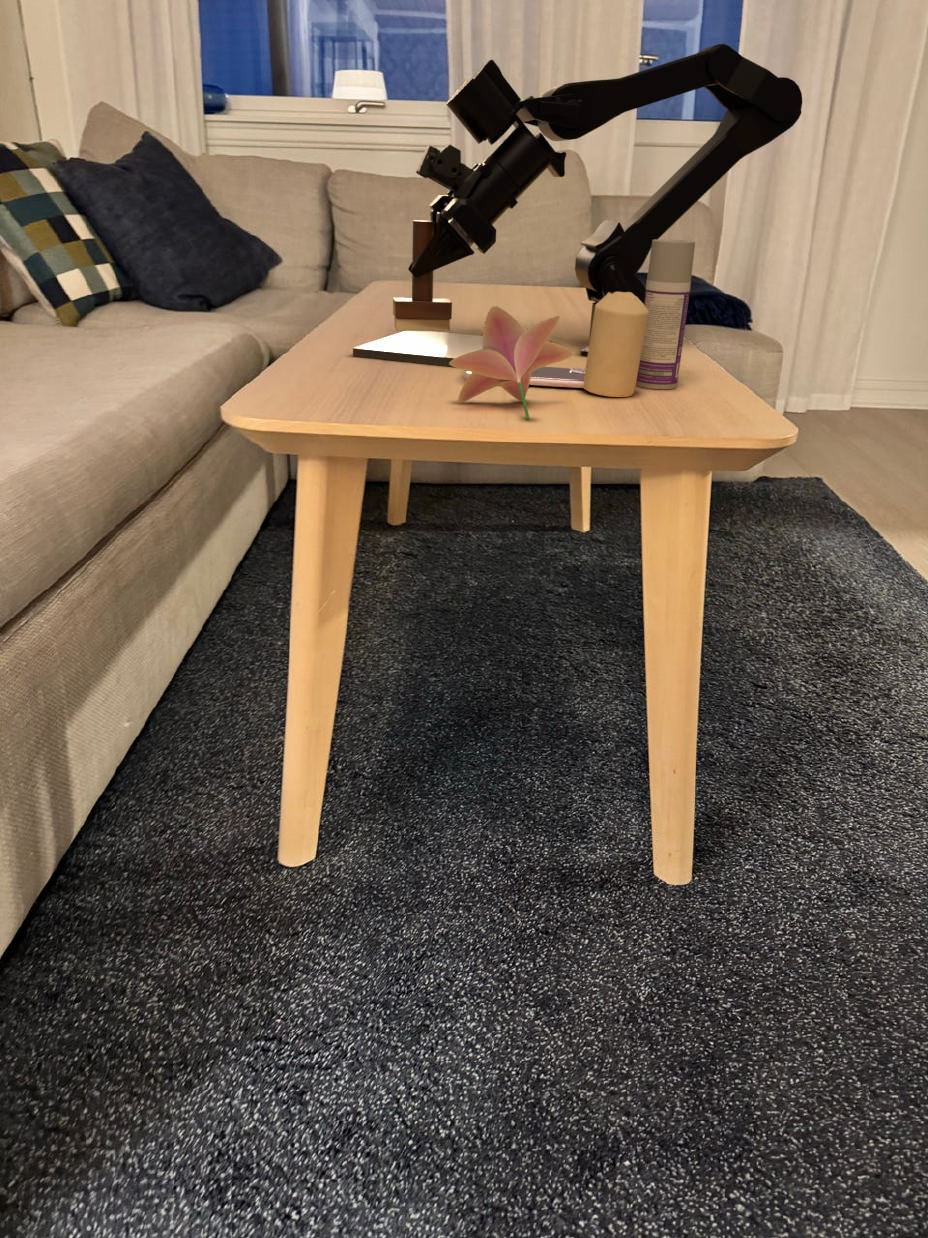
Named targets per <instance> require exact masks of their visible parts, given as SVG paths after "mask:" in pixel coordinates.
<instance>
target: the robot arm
mask: <svg viewBox="0 0 928 1238" xmlns="http://www.w3.org/2000/svg"><path fill="white" fill-rule="evenodd" d="M702 88H705V90H707V91H708V92H709V93H710V94H711V95H712V96H713V98H714V99H715V100H716V101H717V102H718V103H719V104H720V105H721V106H722V107H723V108H724V109H725V110H726V111H725V112H724V114H723V117H722V119H721V120H720V122H719V125H718V126H717V128H716V131H715V132H714V134H713V135H712V136H711V137H710V138H709V139H708V140H707V141H706V142H705V143H704V144H702V146H701V147H700V148H699V149H698V150H697V151H696V152H695V153H694V154H693V155H692V156H691V157H690V158H689V159H688V160H687V161H685V163H684V164H683V165H682V166H680V168H679V169H677V171H676V172H675V173H673V175H672V176H671V177H670V178H669V179H668V180H666V181H665V182H664V183H663V184H662V185H661V186H660V188H658V189H657V190H656V191H655V192H654V193H653V195H651V196H650V197H649V198H648V199H647V201H645V202H644V203H643V204H642V205H641V206H640V207H639V208H638V209H637V210H635V212H634V213H633V214H632V215H631V216H630V217H629V218H628V219H626V220H624V221H623V222H618V221H612V220H603V221H602V223H601V224H599V226H598V227H597V229H596V230H595V231H594V233H593V234H592V235H591V236H590V237H589V238H587V239H584V240H582V241H580V245H581V246H583V247H582V248H581V250H580V251H579V252H578V253H577V255H576V258H575V264H574V272H575V276H576V278H577V280H578V282H579V283H580V285H582V286H583V287H584V288H585V292H586V296H587V299H588V301H591V302H592V303H591V312H590V323H589V335H588V345H587V346H585V347H584V348H583V349H581V350H580V355H583V356H588V350H589V343H590V337H591V330H592V323H593V317H594V310H595V305H596V304H597V303H598V302H599V301H600V300H601V299H602V298H604V297H605V296H606V295H607V294H608V292H610V293H611V294H613V293H614V292H631V293H632V294H634V295H635V296H636V297H638V298H639V300H640V301H641V302H642V303H643V304H644V299H645V290H646V286H645V285H644V284H643V283H642V282H641V280H640V279H639V278H638V277H637V274H638V272H639V271H640V270H641V268H642V267H643V266H644V263H645V261H646V259H647V257H648V255H649V254H650V252H651V247H652V240H656V239H661V238H662V237H663V235H664V234H666V232H667V231H669V230H670V228H671V227H672V226H674V225H675V224H676V223H677V222H678V220H679V219H681V217H683V216H684V215H685V214H686V213H687V212H688V211H689V210H690V209H691V208H692V207H693V206H694V205H695V204H696V203H697V202H698V201H699V200H700V199H701V198H702V197H703V196H705V195H706V193H708V191H709V190H710V189H712V188H713V186H714V185H716V184H717V183H718V182H719V181H720V180H721V179H722V178H723V177H724V176H726V174H727V173H728V172H729V171H730V170H731V169H732V168H733V167H735V165H736V164H737V163H738V162H739V161H741V160H742V159H743V158H744V157H746V156H748V155H750V154H752V153H754V152H755V151H757V150H759V149H761V148H763V147H765V146H767V145H768V144H770V143H772V142H773V141H774V140H775V139H777V138H778V137H780V136H781V135H782V134H784V133H785V132H787V131H788V130H790V129H791V128H792V127H793V126H794V125H796V123H797V122H798V120H799V119H800V117H801V115H802V107H803V93H802V90H801V88H800V86H799V84H797V83H796V81H795V80H793V79H791V78H790V77H780V76H779V77H778V76H777V75H775V74H774V73H773V72H772V71H771V70H769V69H767V68H765V67H764V66H762V65H760V64H758V63H756V62H755V61H752V60H750V59H748V58H746V57H744V56H743V55H741V54H740V53H739V52H738V51H736V50H735V49H734V48H733V47H731V46H730V45H728V44H726V43H717V44H714V45H711V46H707V47H704V48H702V49H701V50H700V51H698V52H696V53H694V54H690V55H688V56H687V55H686V56H684V57H680V58H678V59H674V60H672V61H668V62H664V63H662V64H659V65H655V66H652V67H650V68H646V69H642V70H639V71H637V72H634V73H631V74H628V75H624V76H621V77H617V78H608V79H594V80H585V81H576V82H568V83H564V84H561V85H557V86H555V87H551V88H550V89H548V90H547V91H545V92H544V93H543V94H542V95H541V96H540V97H534V96H533V95H530V96H527V97H523V98H522V99H521V97H520V96H519V95H518V93H517V92H516V91H515V89H514V88H513V87H512V86H511V84H510V82H508V80H507V79H506V78H505V76H504V75H503V72H502V71H501V68H500V67H499V65H498V64H497V63H496V61H495V60H494V59H489V60H488V61H486V62H485V64H484V65H482V67H481V68H480V69H478V71H476V72H475V73H474V74H473V75H472V77H471V78H469V79H467V80H466V81H464V82H463V83H462V84H461V85H460V87H458V89H456V91H455V92H454V93H453V94H452V95H451V97H450V98H449V99H448V100H447V102H446V103H445V105H446V106H447V107H448V108H449V110H450V111H451V112H452V113H453V115H454V116H455V118H457V120H458V121H459V123H460V124H462V126H463V127H464V128H465V130H466V131H467V132H468V133H469V135H470V136H471V137H472V139H474V141H475V142H476V143H477V144H482V143H483V142H486V141H487V142H488V143H489V145H491V146H492V145H494V144H495V143H496V142H497V141H499V140H500V139H501V138H502V137H503V136H504V135H505V134H506V133H507V132H508V130H509V129H510V128H511V127H512V126H513V127H514V129H513V130H512V131H511V132H510V133H509V135H507V137H506V138H505V139H503V141H501V143H500V144H499V145H498V146H497V147H496V148H495V149H494V150H493V151H492V152H491V153H490V154H489V156H488V157H486V158H485V160H484V161H483V162H479V163H477V162H476V163H474V165H472V167H468V165H466V164H465V163H463V162H462V151H461V149H459V148H457V147H456V146H454V145H452V144H446V146H444V147H443V148H442V149H441V150H440V149H438V148H437V147H435V146H432V145H428V146H426V148H425V150H424V152H423V155H422V157H421V159H420V162H419V164H418V166H417V168H416V171H415V173H416V174H417V175H419V176H421V178H423V179H429V180H431V181H433V182H434V183H436V184H438V185H440V186H442V187H443V188H445V189H447V190H448V191H447V192H446V194H438V195H437V196H436V197H435V198H434V200H433V201H432V202H431V203H430V204H429V205H428V207H429V208H430V213H429V216H430V221H434V222H435V226H434V236H433V238H432V239H431V241H430V242H429V243H428V245H427V246H426V248H425V249H424V251H423V252H422V254H421V255H420V257H419V258H418V260H417V261H416V263H415V264H414V266H413V267H412V262H410V264H409V266H408V267H407V269H408V272H410V274H411V275H412V274H413V275H414V277H416V278H418V277H420V276H422V275H425V274H427V273H429V272H432V271H433V272H434V271H437V270H438V269H441V268H443V267H445V266H448V265H450V264H453V263H455V262H457V261H460V260H462V259H465V258H467V257H470V256H473V255H475V253H476V252H475V251H474V249H473V248H472V246H473V245H476V246H477V250H478V252H479V253H481V254H483V255H485V254H486V253H487V252H488V251H489V250H490V249H491V248H492V247H493V246H494V245H495V244H496V242H497V228H496V227H494V224H495V223H496V222H497V221H498V220H499V219H500V218H501V217H502V216H503V214H504V213H506V211H508V209H509V210H510V209H511V210H513V208H515V207H516V205H518V203H519V201H517V200H518V199H520V197H521V196H522V195H523V194H524V193H525V192H526V191H527V190H528V189H529V188H530V186H531V185H533V183H535V182H536V181H537V179H538V178H539V177H540V176H541V175H542V174H543V173H544V172H545V171H546V170H547V171H548V172H549V173H550V175H551V176H552V177H554V178H564V177H565V175H566V166H565V165H566V164H565V161H566V157H567V152H566V151H556V150H555V149H554V147H553V146H552V145H551V144H550V143H549V141H548V140H550V141H552V142H563V141H571V140H578V139H580V138H582V137H584V136H585V135H588V134H589V133H591V132H593V131H595V130H597V129H598V128H600V127H602V126H604V125H605V124H607V123H609V122H610V121H612V120H614V119H615V118H617V117H619V116H621V115H622V114H624V113H627V112H629V111H633V110H636V109H639V108H642V107H645V106H649V105H651V104H652V105H653V104H655V103H658V102H661V101H664V100H667V99H670V98H673V97H676V96H680V95H683V94H686V93H689V92H692V91H695V90H699V89H702ZM526 125H530V126H533V127H536V128H538V129H539V131H540V132H537V133H536V134H533V132H532V131H531V130H530V129H529V128H528V127H527V126H526ZM547 139H548V140H547Z"/></svg>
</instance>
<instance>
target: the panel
mask: <svg viewBox="0 0 928 1238" xmlns="http://www.w3.org/2000/svg"><path fill="white" fill-rule="evenodd" d="M482 337H483V335H478V334H469V333H468V334H467V333H457V332H444V331H400V332H398V333H394V334H391V335H389V336H386V337H385V336H384V337H382V338H380V339H376V340H373V341H370V342H367V343H364V344H360V345H358V346H355V347H352V357H357V358H366V359H377V360H383V361H395V362H403V363H412V364H413V363H414V364H422V365H423V364H424V365H431V366H442V367H451V368H455V367H454V366H451V365H450V364H449V362H450V361H451V360H453V359H455V358H457V357H459V356H462V355H464V354H467V353H470V352H473V351H477V350H482V349H483V344H482Z"/></svg>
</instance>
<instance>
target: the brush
mask: <svg viewBox="0 0 928 1238" xmlns="http://www.w3.org/2000/svg"><path fill="white" fill-rule="evenodd" d="M434 226H435V222H434V221H431V220H423V219H422V220H419V219H418V220H416V219H415V220H414V219H413V220H412V250H411V251H412V253H411V254H412V256H411V257H412V258H411V263H412V267H413V266H414V264H415V263H416V261H417V260H418V258H419V257H420V255H421V254H422V252H423V251H424V249H425V248H426V246H427V245H428V243H429V242H430V241H431V239H432V238H433V236H434ZM452 314H453V302H452V301H451V300H450V299H449V298H434V271H432V272H429V273H427V274H425V275H422V276H420V277H418V278H416V277H414V275H413V274H412V273H411V297H393V298H392V315H393V316H394V328H395V330H396V331H397V332H404V331H436V332H447V333H450V328H451V327H450V325H451V324H450V323H451V320H453V319H452V318H453V315H452Z"/></svg>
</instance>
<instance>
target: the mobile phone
mask: <svg viewBox="0 0 928 1238" xmlns="http://www.w3.org/2000/svg"><path fill="white" fill-rule="evenodd" d="M585 370H586V368H582V367H559V366H558V367H555V366H544V367H542V368H539V369H537V370H535V371H533V372H531V378H530V383H529V386H537V387H538V386H539V387H540V386H541V387H553V388H569V389H584V385H583V384H584V376H585ZM471 373H472V372H469V371H465V372H464V374H463V378H464V380H466V379H467V378H468V376H469V375H470V374H471Z"/></svg>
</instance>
